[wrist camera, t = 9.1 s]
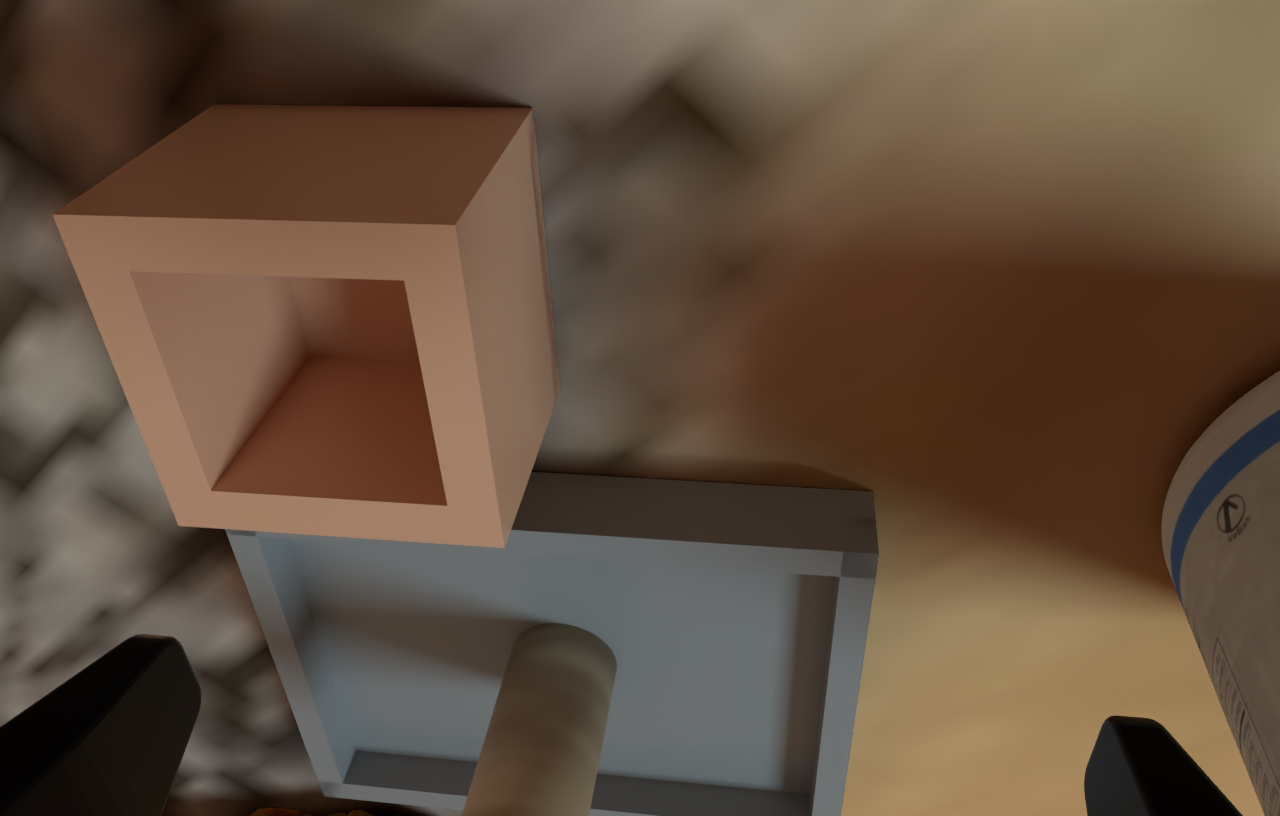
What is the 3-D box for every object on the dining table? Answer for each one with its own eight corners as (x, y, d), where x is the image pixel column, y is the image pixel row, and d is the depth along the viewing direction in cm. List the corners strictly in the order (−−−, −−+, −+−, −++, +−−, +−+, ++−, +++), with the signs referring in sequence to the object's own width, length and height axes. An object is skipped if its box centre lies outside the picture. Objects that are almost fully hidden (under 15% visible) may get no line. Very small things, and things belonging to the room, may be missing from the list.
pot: (533, 107, 20) (454, 224, 15) (560, 389, 24) (504, 547, 19) (214, 104, 21) (51, 214, 16) (291, 376, 24) (178, 525, 20)
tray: (872, 491, 24) (878, 554, 22) (833, 783, 31) (835, 849, 29) (257, 455, 26) (217, 510, 24) (349, 737, 33) (323, 796, 31)
